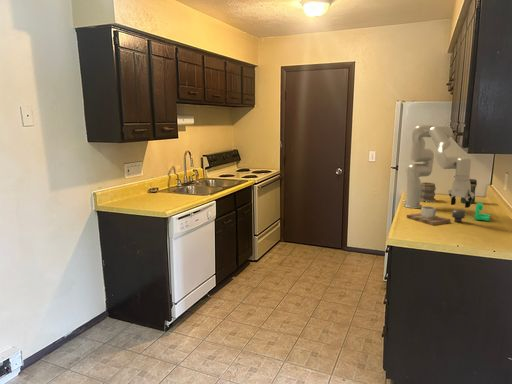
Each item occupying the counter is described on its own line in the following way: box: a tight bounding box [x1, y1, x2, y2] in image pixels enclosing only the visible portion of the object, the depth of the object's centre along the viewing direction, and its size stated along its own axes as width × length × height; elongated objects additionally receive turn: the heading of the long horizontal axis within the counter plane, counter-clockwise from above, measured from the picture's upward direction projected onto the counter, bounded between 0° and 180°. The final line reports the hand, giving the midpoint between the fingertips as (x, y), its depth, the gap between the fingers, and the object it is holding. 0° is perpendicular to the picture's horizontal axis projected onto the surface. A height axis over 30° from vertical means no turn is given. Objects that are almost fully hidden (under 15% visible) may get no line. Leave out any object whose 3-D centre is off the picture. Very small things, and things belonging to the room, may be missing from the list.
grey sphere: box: [451, 208, 466, 224], centre depth 226 cm, size 7×7×7 cm
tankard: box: [420, 182, 437, 203], centre depth 291 cm, size 20×13×15 cm, turn 68°
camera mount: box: [474, 202, 491, 222], centre depth 231 cm, size 12×8×10 cm, turn 145°
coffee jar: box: [460, 178, 478, 205], centre depth 281 cm, size 10×8×19 cm
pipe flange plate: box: [406, 205, 452, 226], centre depth 229 cm, size 20×15×8 cm
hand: (460, 206), depth 224 cm, fingers open, 9 cm apart
